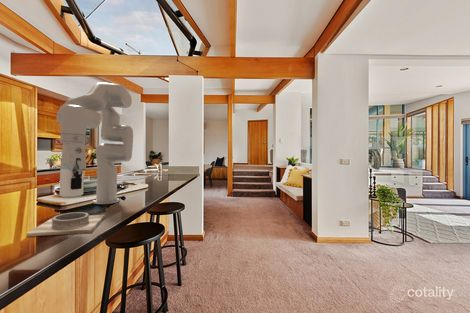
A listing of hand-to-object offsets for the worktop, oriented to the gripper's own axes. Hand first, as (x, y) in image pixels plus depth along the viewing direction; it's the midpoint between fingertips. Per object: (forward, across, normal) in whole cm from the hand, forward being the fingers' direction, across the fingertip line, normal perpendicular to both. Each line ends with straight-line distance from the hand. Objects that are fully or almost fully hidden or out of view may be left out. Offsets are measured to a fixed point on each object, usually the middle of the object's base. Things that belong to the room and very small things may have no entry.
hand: (71, 187), depth 82 cm
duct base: (+14, 0, 0) cm, 14 cm away
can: (+3, 0, 0) cm, 3 cm away
